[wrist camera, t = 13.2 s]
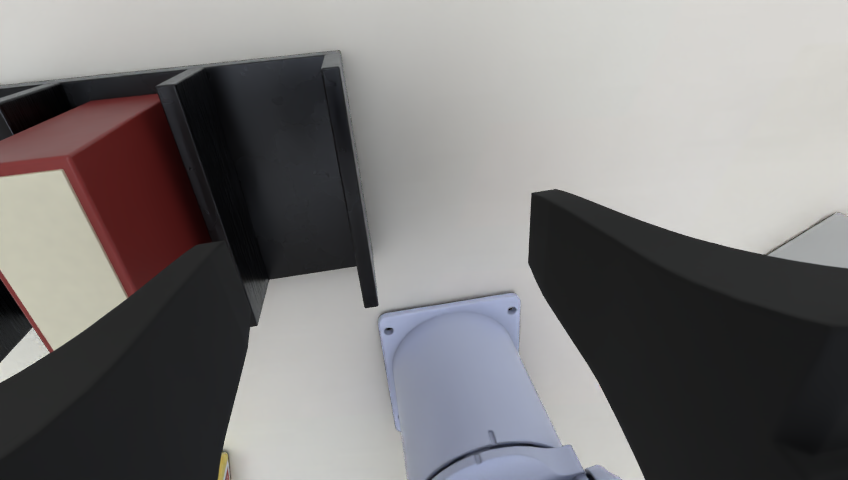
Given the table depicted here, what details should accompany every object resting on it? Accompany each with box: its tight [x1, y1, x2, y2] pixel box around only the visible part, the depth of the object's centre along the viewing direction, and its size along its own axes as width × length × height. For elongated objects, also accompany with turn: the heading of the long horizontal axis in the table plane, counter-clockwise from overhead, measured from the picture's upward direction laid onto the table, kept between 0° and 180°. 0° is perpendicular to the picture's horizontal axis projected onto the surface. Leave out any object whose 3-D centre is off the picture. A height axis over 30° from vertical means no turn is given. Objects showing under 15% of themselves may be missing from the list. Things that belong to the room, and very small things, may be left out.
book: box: [0, 94, 212, 353], centre depth 15 cm, size 8×3×8 cm, turn 5°
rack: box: [0, 50, 378, 362], centre depth 18 cm, size 10×16×4 cm, turn 95°
